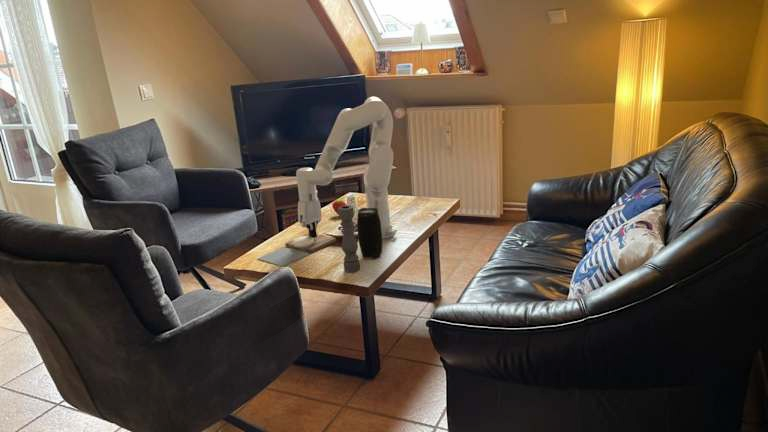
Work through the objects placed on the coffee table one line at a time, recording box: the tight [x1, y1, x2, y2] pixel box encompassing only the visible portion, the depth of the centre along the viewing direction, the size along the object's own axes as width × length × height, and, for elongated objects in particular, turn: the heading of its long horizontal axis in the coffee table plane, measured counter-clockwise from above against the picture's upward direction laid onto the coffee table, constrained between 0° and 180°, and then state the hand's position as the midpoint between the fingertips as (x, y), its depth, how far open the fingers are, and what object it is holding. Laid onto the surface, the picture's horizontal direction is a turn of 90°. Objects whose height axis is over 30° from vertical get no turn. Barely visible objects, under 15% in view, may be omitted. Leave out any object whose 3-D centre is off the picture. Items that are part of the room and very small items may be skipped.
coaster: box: [292, 235, 314, 248], centre depth 238 cm, size 9×9×2 cm
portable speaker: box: [356, 207, 383, 260], centre depth 220 cm, size 9×9×20 cm
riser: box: [284, 232, 337, 254], centre depth 242 cm, size 16×15×2 cm
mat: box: [257, 246, 311, 267], centre depth 231 cm, size 16×15×1 cm
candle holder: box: [337, 204, 361, 274], centre depth 208 cm, size 6×6×25 cm
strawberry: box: [332, 196, 347, 216], centre depth 276 cm, size 6×8×10 cm
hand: (313, 236), depth 243 cm, fingers closed
